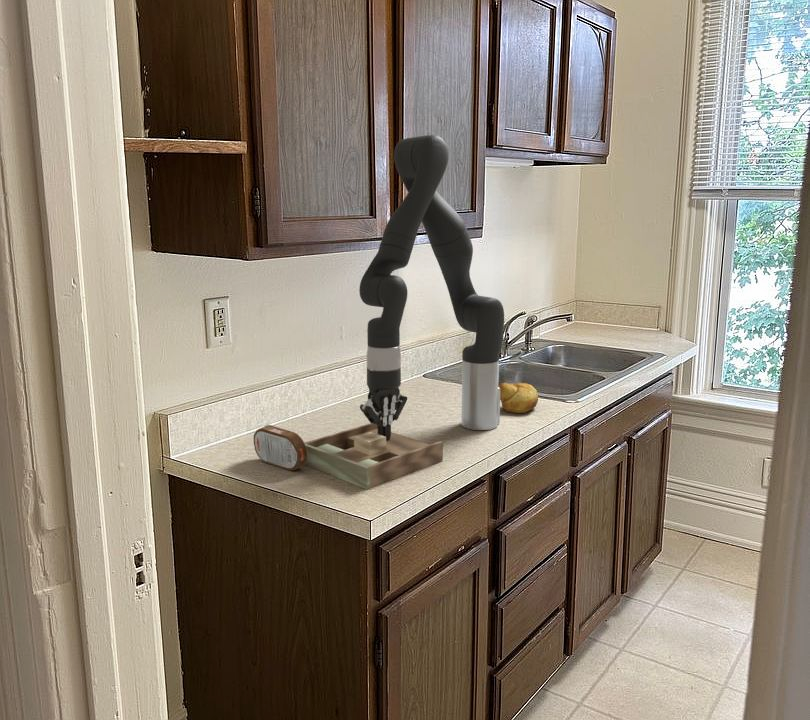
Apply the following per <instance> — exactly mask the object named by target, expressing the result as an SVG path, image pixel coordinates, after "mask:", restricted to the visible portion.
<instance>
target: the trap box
mask: <svg viewBox="0 0 810 720" xmlns="http://www.w3.org/2000/svg"><path fill="white" fill-rule="evenodd" d="M369 432H373V433H376V434H378V426H377V425H376V424H372V423H370V422H369V423H366V424H363V425H360V426H359V425H358V426H357V427H356V426H355V427H353V428H350V429H347V430H342V431H340V432H337V433H333V434H329V435H326V436H323V437H319V438H316V439H312V440H308V441H306V442H304V443H305V446H306V449H307V461H306V464H305V465H304V466H308V467H310V468H313V469H315V470H317V471H320V472H322V473H326V474H328V475H331V476H333V477H335V478H338V479H340V480H343V481H345V482H348V483H351V484H353V485H355V486H357V487H359V488H363V489H365V490H369V489H372V488H374V487H376V486H380V485H382V484H385V483H387V482H390V481H393V480H395V479H398V478H401V477H404V476H406V475H409V474H411V473H414V472H417V471H420V470H422V469H425V468H428V467H430V466H434V465H436V464H439V463H442V462H443V461H444V460H443V459H444V458H443V457H444V456H443V454H444V453H443V452H444V442H443V441H442V440H440V441H436V442H433V443H431V444H430V443H426V442H423V441H421V440H417V439H414V438H411V437H408V436H405V435H402V434H398V433H395V432H392V431H391V437H390V440H389V441H386V450H384V451H381V452H378V453H375V454H372V455H367V454H364V453H362V452H359V451H356V450H354V437H356V436H359V435H362V434H365V433H369Z"/></svg>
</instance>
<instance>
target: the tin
mask: <svg viewBox="0 0 810 720" xmlns="http://www.w3.org/2000/svg"><path fill="white" fill-rule="evenodd" d="M253 446H254V450H255V453H256V456H258V458H259V460H261V461H262V462H264V463H266V464H269V465H272V466H274V467H277V468H281V469H284V470H286V471H291V472H292V471H294V470H298V469H300V468H303V467H304V466H306V465H305V464H306V461H307V449H306V446H305V442H304V440H303V439H302V437H301V436H300V435H299V434H298V433H296V432H294V431H290V430H288V429H284V428H280V427H278V426H275V425H271V424H268V425H264V426H262V427H261V428H258V429H257V430H256V431H255V432H254V434H253Z"/></svg>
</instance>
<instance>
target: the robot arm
mask: <svg viewBox="0 0 810 720" xmlns="http://www.w3.org/2000/svg"><path fill="white" fill-rule="evenodd" d="M393 152H394V153H393V157H394V158H393V160H394V165H395V168H396V171H397V173H398V176H399V177H400V180H401V181H402V183H403V186H404V187H405V189H406V191H407V195H406V196H405V197H404V199H403V200H402V202H401V203H400V204H399V205H398V207H397V208H396V209H395V210H394V212H393V213H392V214H391V216H390V217H389V220H388V221H387V223H386V226H385V228H384V229H383V230H384V231H383V234H382V237H381V240H380V244H379V247H378V251H377V253H376V255H374V257H373V258H372V261H371V262H370V264H369V265H368V267H367V268H366V271H365V272H364V274H363V276H362V278H361V281H360V283H359V289H358V290H359V297H360V299H361V301H362V303H364V304H365V305H367V306H369V307H376V308H377V307H378V308H382V312H381V315H380V316H378V317H374V318H371V319H370V320H369V321H368V322H367V349H366V386H367V388H368V394H367V400H366V401H365V403H364V404H363V403H362V404H360V405H359V409H360V411H361V413H363V415H364V416H365V417H366V419H367V420H368V422H369V424H370V423H372V424H376V425H377V426H378V434H379V435H382V436H385V437H386V441H389V440H390V437H391V432H392V424H393V422H394V421H398V419H399V418H400V416H401V414H402V411H403V409H404V407H405V405H406V403H407V401H408V397H407V396H406V395H402V394H401V389H400V387H401V385H402V378H401V377H402V374H401V373H402V372H401V371H402V368H401V367H402V355H401V354H402V353H401V349H400V348H401V346H400V343H401V342H400V341H401V338H400V334H401V333H400V328H401V323H402V319H403V315H404V312H405V307H406V303H407V301H408V287H407V284H406V282H405V280H404V279H403V278H402V277H401V276H398V275H392V273H394V272H395V271H396V270H401V269H403V268H405V267H407V266H408V263H409V262H410V259H411V255H412V252H413V248H414V245H415V242H416V238H417V235H418V232H419V229H420V226H421V224H422V225H423V228H424V230H425V232H426V236H427V238H428V241H429V244H430V246H431V250H432V251H433V255H434V256H435V258H436V260H437V263H438V266H439V268H440V271H441V274H442V276H443V279H444V282H445V285H446V287H447V291H448V294H449V298H450V302H451V306H452V310H453V313H454V316H455V318H456V321H457V323H458V325H459V327H460V328H462V329H463V330H465V331H467V332H471V333H475V341H474V343H473V344H472V345H468V346H465V347H463V349H462V352H461V353H462V355H461V358H462V359H461V360H462V361H461V420H460V422H461V423H460V424H461V426H462V428H464V429H468V430H474V431H489V430H493V429H495V428H497V427H498V425H499V424H500V423H501V422H500V421H501V420H500V419H501V418H500V417H501V416H500V415H501V400H500V388H499V387H498V386H499V383H500V382H499V378H500V376H499V373H500V368H499V367H500V353H501V351H502V348H503V344H504V328H505V310H504V305H503V304H502V302H501V301H500V300H499V299H498V298H495V297H491V296H484V295H478V293H477V292H476V290H475V287H474V285H473V282H472V279H471V273H470V272H471V271H470V270H471V266H472V265H471V264H472V261H473V253H474V249H473V248H474V247H473V243H472V239H471V237H470V234H469V232H468V228H467V226H466V224H465V221H464V220H463V219H462V217H461V216H460V215H459V214H458V213H457V211H456V210H455V209H454V208H453V207H452V206H451V205H450V204H449V203H448V202H447V201H446V200H445V199H444V198H443V197H442V196H441V195H440V194H439V192H438V190H437V189H438V187H439V185H440V183H441V181H442V179H443V177H444V175H445V172H446V169H447V166H448V163H449V149H448V145H447V143H446V141H445V140H444V139H443V138H442V137H440V136H439V135H435V134H428V135H420V136H414V137H413V136H412V137H408V138H407V137H406V138H403V139H401V140H399V141H398V142H397V143H396V145H395V148H394V151H393Z"/></svg>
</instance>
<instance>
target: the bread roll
mask: <svg viewBox="0 0 810 720" xmlns="http://www.w3.org/2000/svg"><path fill="white" fill-rule="evenodd" d="M498 387H499V388H500V403H501V407H502V408H503V410H505V411H506V412H509V413H514V414H515V413H518V414H524V413H527V412H528V411H531V410H533V409H534V408H536V407H537V404H538V401H539V396H540V395H539V393H538V390H537V389H536V388H534V386H533V385H531V384H529V383H524V382H517V383H513V384H509V383H507V382H502V383H499V384H498Z"/></svg>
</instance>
